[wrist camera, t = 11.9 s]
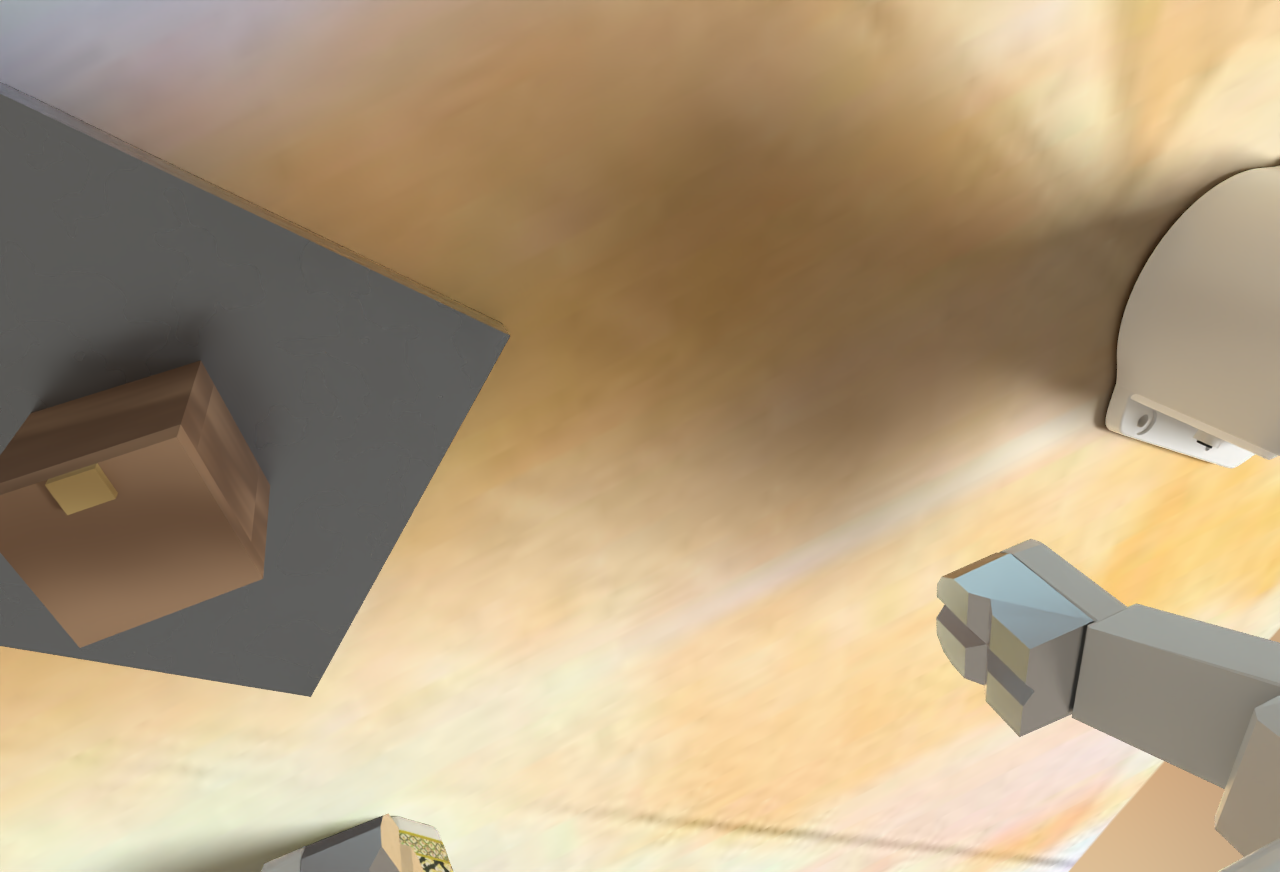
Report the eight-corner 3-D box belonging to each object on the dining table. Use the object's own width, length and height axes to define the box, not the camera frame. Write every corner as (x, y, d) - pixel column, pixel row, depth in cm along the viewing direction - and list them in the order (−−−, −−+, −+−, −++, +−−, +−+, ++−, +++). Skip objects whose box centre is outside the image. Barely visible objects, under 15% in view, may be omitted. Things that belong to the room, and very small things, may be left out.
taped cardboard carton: (270, 485, 28) (262, 584, 23) (119, 538, 27) (77, 654, 22) (200, 360, 25) (175, 442, 20) (30, 413, 24) (-43, 513, 19)
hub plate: (501, 323, 30) (536, 375, 26) (310, 672, 34) (311, 771, 29) (-80, 43, 21) (-187, 46, 16) (-253, 570, 25) (-379, 693, 20)
